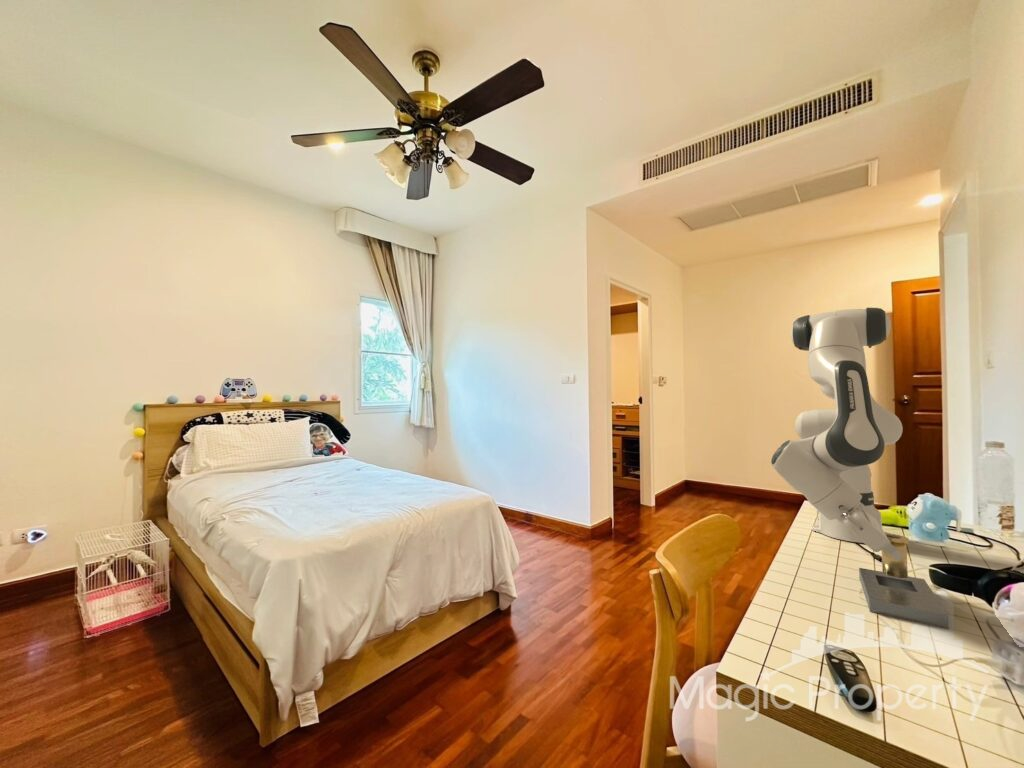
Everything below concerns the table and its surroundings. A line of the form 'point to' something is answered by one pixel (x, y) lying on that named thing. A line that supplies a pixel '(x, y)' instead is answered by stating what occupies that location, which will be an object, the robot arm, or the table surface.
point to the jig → (902, 598)
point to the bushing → (892, 565)
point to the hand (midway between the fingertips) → (898, 554)
